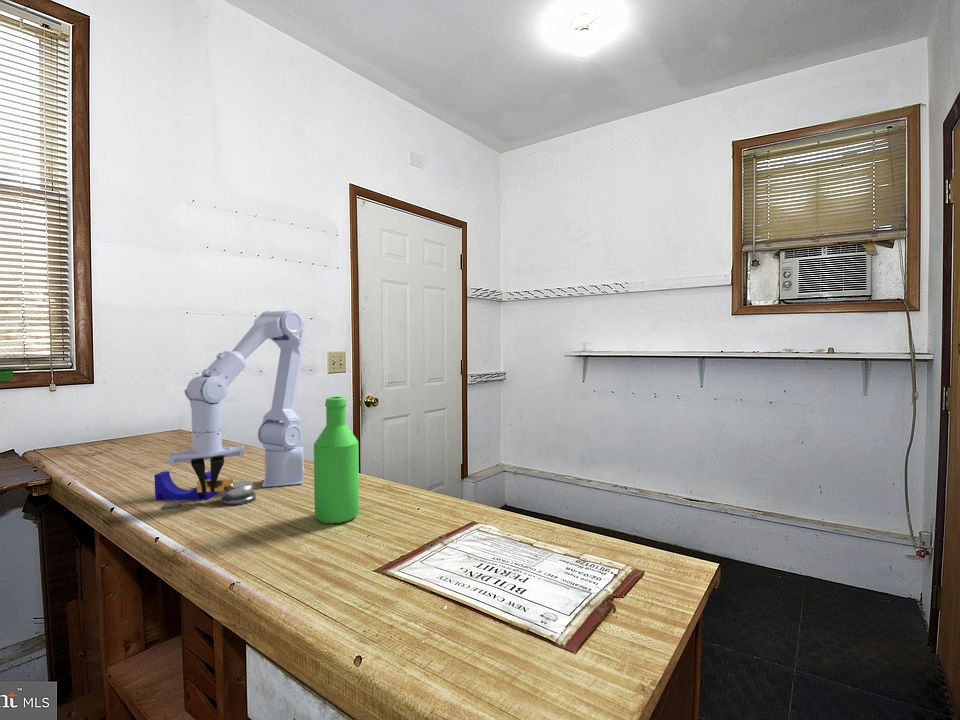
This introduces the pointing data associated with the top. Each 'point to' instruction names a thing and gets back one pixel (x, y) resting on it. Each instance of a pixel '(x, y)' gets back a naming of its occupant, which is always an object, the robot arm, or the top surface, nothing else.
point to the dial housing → (238, 500)
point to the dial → (229, 488)
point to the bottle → (336, 467)
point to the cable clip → (178, 489)
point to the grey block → (170, 505)
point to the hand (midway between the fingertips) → (208, 491)
